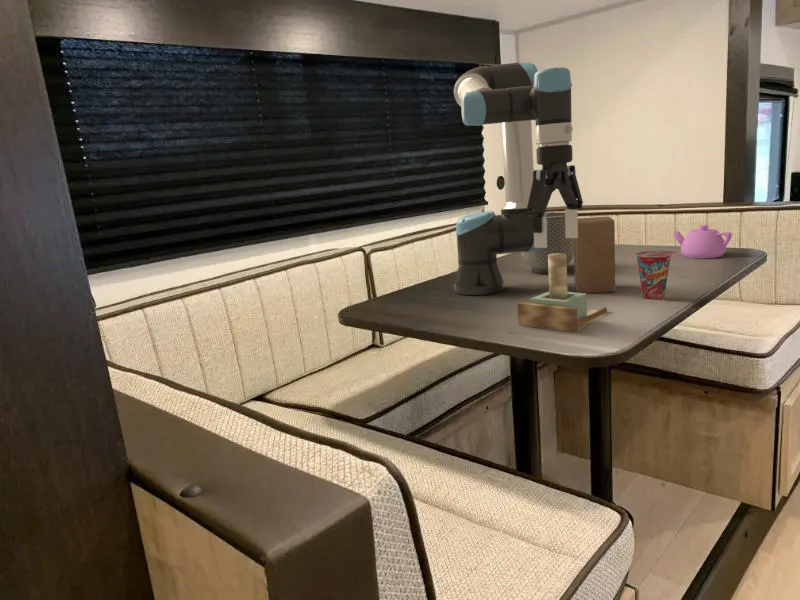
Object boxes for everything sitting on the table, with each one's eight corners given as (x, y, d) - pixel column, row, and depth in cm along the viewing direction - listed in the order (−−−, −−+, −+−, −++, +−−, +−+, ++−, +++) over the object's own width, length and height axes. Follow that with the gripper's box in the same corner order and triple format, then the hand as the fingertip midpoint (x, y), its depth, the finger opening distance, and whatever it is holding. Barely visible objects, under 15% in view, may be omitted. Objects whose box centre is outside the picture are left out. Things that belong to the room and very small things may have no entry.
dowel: (546, 316, 136) (544, 255, 133) (555, 312, 139) (553, 252, 136) (562, 318, 134) (560, 256, 130) (571, 313, 136) (569, 253, 133)
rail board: (518, 328, 137) (517, 303, 136) (560, 309, 150) (559, 286, 149) (574, 336, 128) (573, 309, 126) (613, 315, 141) (613, 291, 139)
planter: (569, 277, 189) (567, 217, 185) (510, 275, 200) (507, 218, 195) (585, 265, 205) (584, 210, 201) (530, 265, 216) (528, 212, 212)
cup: (650, 304, 148) (651, 257, 145) (628, 298, 156) (628, 253, 153) (681, 299, 150) (682, 252, 147) (658, 293, 158) (659, 248, 155)
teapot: (683, 251, 216) (684, 222, 214) (740, 255, 200) (742, 223, 198) (662, 257, 209) (662, 226, 206) (719, 261, 193) (720, 228, 190)
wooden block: (615, 292, 164) (614, 219, 159) (577, 294, 166) (576, 222, 161) (610, 284, 173) (609, 216, 169) (574, 286, 175) (573, 218, 171)
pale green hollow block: (531, 323, 137) (530, 298, 135) (551, 314, 143) (551, 290, 141) (567, 328, 130) (566, 302, 129) (586, 319, 137) (586, 293, 135)
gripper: (538, 146, 117) (542, 252, 122) (597, 140, 134) (598, 234, 139) (506, 149, 122) (511, 251, 127) (567, 143, 139) (569, 233, 144)
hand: (556, 242), depth 133 cm, fingers open, 13 cm apart
